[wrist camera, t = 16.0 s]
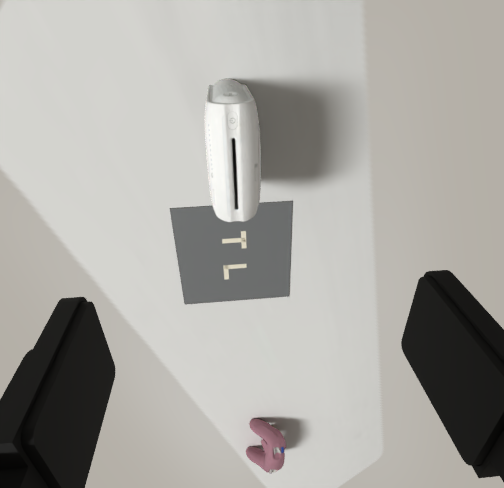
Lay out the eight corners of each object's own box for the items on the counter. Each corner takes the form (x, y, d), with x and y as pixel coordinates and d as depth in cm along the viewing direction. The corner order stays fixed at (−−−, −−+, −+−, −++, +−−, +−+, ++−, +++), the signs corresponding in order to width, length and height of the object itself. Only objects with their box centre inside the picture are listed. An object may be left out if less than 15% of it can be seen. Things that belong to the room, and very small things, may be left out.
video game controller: (264, 440, 69) (286, 474, 64) (243, 452, 67) (264, 488, 62) (269, 407, 64) (293, 441, 59) (247, 419, 62) (270, 455, 57)
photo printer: (203, 77, 35) (199, 100, 24) (248, 76, 35) (264, 97, 24) (211, 180, 40) (211, 235, 29) (250, 178, 40) (264, 232, 30)
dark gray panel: (170, 207, 41) (169, 208, 41) (292, 200, 42) (292, 201, 42) (184, 303, 48) (184, 304, 48) (288, 295, 49) (289, 296, 49)
